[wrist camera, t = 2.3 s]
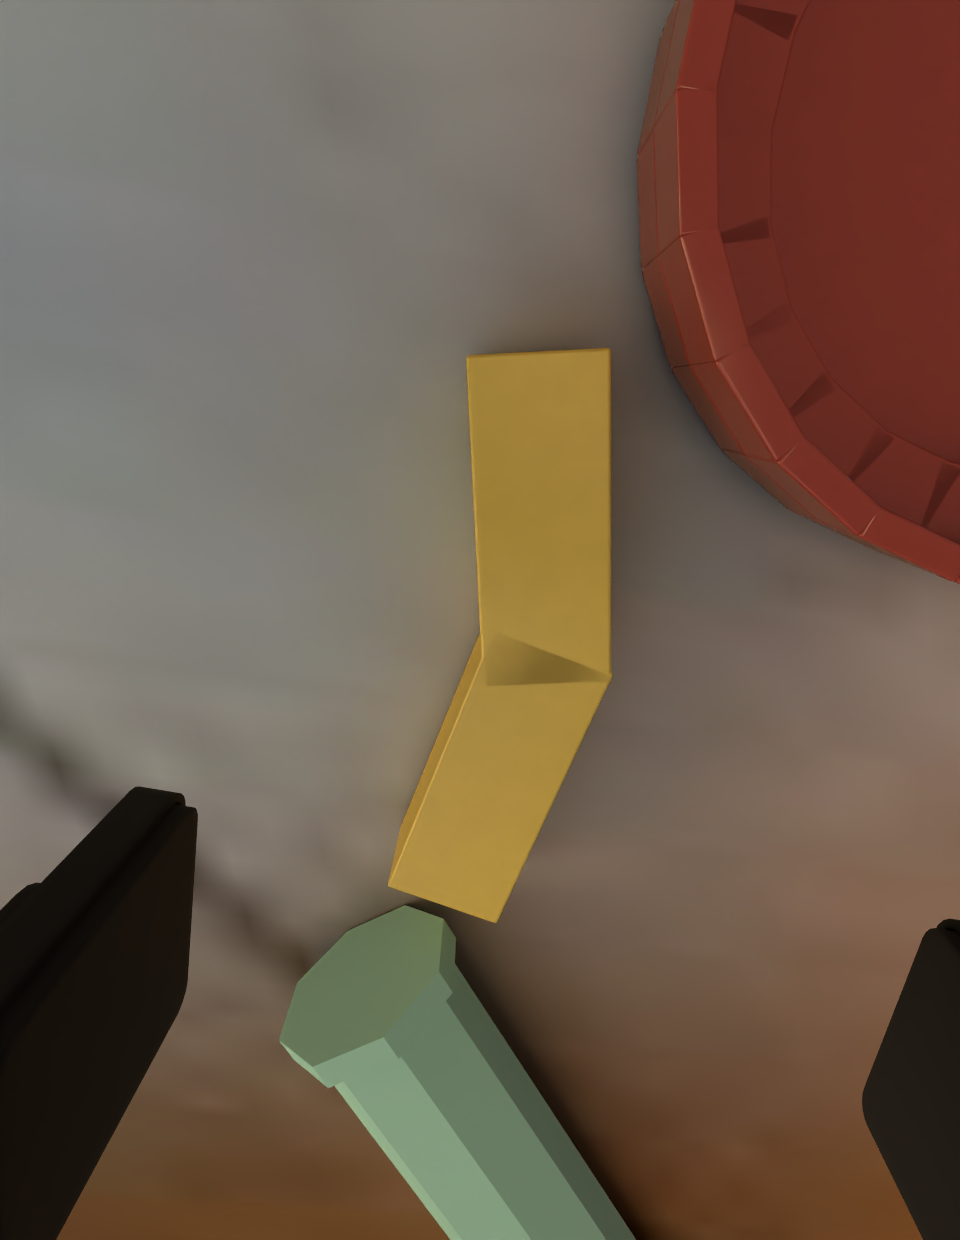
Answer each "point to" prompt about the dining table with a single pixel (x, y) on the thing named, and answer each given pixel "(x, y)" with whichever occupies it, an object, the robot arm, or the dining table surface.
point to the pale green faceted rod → (442, 1086)
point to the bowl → (816, 254)
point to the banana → (520, 627)
